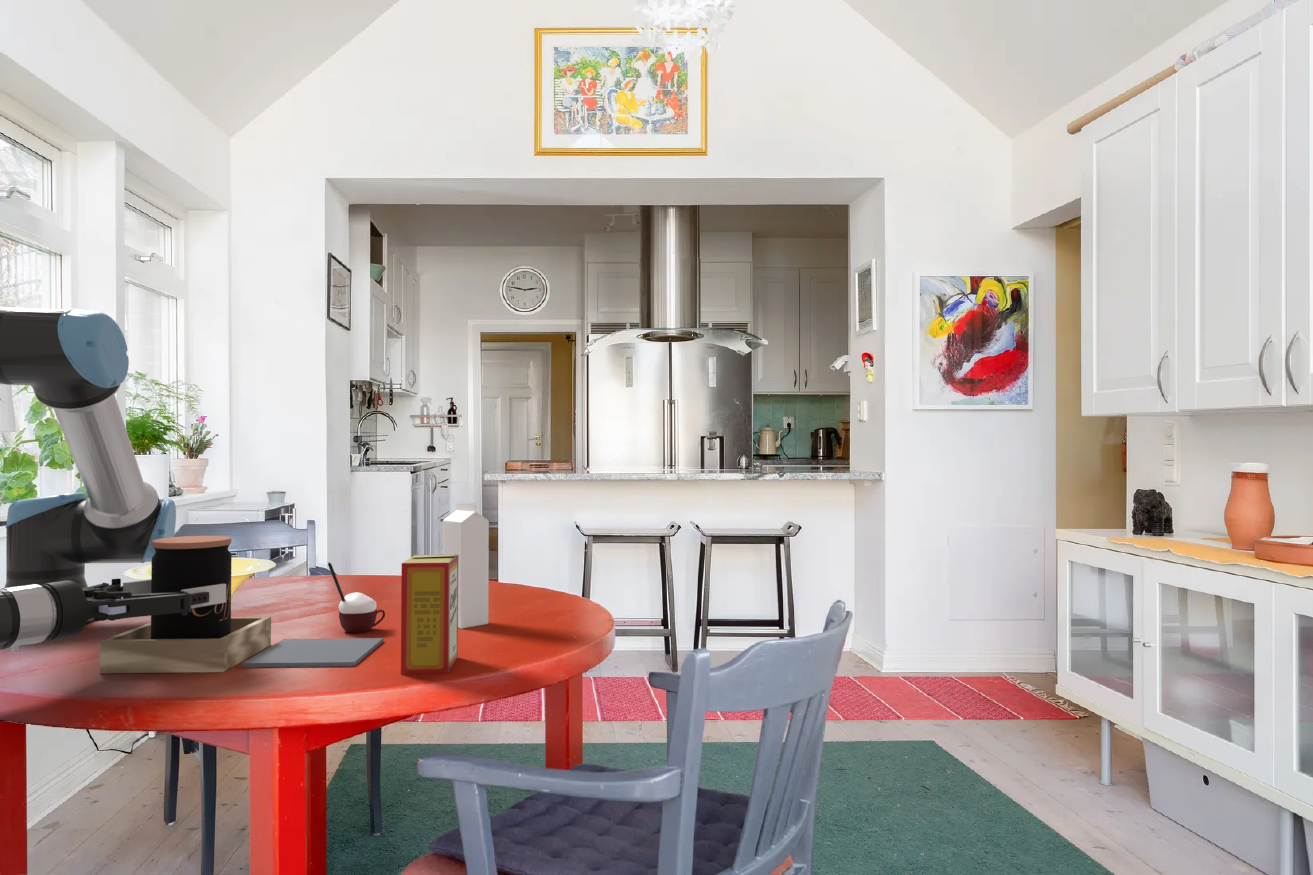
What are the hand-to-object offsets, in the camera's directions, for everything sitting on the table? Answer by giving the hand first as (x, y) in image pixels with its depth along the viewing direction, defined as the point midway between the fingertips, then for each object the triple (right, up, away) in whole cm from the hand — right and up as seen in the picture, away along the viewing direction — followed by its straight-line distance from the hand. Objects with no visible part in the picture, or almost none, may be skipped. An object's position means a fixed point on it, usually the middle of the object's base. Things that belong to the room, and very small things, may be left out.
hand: (195, 589), depth 130 cm
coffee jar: (-1, -11, 0) cm, 11 cm away
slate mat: (+17, -10, +3) cm, 20 cm away
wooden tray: (-1, -10, 0) cm, 10 cm away
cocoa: (+17, -11, +20) cm, 29 cm away
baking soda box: (+37, -11, -4) cm, 39 cm away
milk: (+35, -11, +26) cm, 45 cm away
